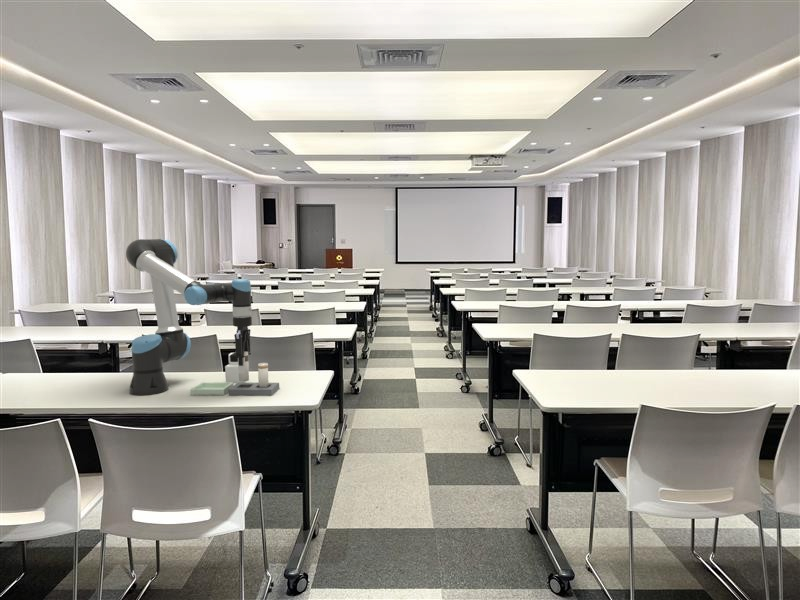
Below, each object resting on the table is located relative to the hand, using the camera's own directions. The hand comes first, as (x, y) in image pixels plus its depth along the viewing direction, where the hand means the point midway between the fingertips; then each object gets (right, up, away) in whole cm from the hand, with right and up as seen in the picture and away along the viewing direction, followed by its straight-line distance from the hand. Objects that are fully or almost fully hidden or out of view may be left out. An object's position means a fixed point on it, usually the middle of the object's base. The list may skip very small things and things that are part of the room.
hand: (243, 371), depth 244 cm
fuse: (+8, -9, 0) cm, 12 cm away
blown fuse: (0, -4, 0) cm, 4 cm away
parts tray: (-14, -9, +2) cm, 16 cm away
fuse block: (+4, -9, +1) cm, 10 cm away
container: (-8, -7, +20) cm, 23 cm away
